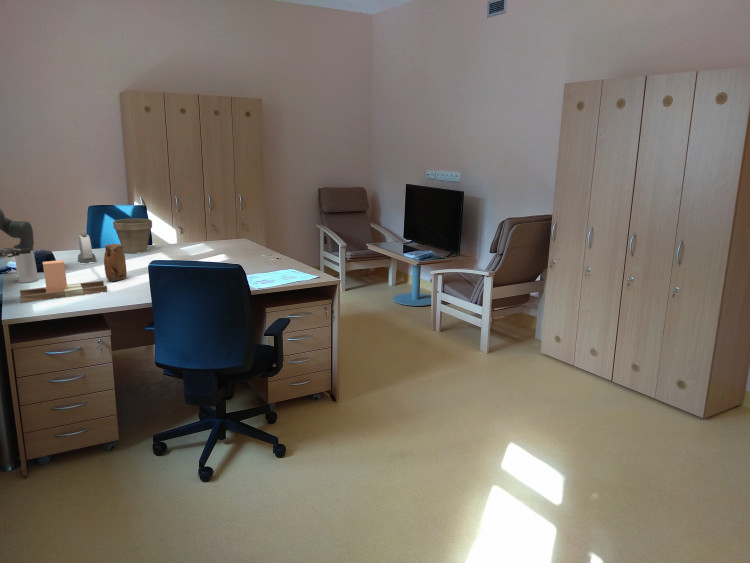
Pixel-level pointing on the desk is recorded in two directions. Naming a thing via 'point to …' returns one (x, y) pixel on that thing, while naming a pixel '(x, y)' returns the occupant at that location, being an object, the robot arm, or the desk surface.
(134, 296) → the desk surface
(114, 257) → the block
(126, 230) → the plant pot
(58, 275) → the block
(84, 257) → the grey piece
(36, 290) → the track
